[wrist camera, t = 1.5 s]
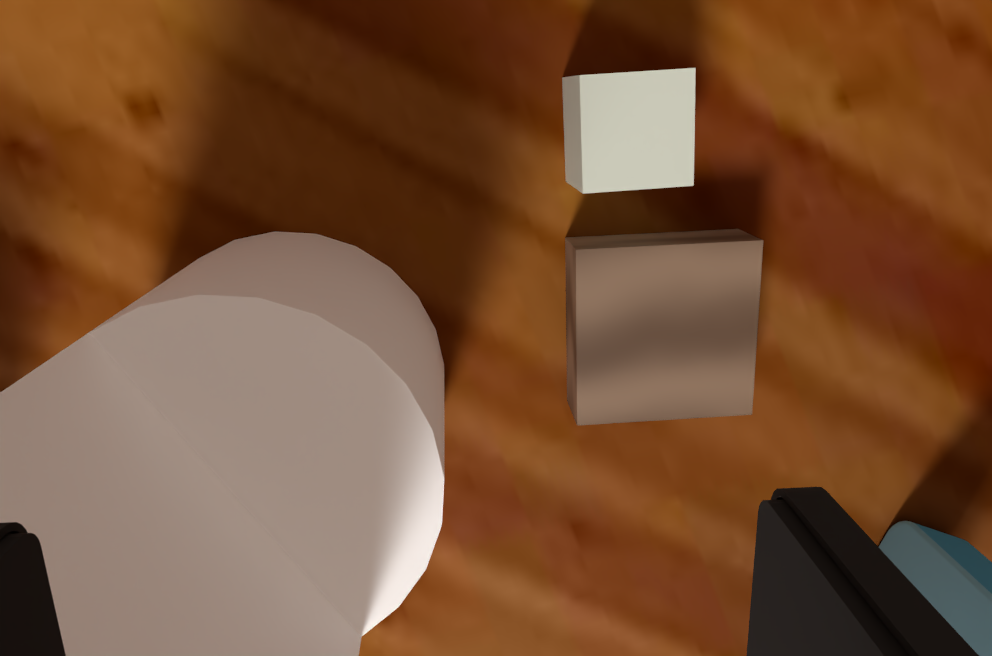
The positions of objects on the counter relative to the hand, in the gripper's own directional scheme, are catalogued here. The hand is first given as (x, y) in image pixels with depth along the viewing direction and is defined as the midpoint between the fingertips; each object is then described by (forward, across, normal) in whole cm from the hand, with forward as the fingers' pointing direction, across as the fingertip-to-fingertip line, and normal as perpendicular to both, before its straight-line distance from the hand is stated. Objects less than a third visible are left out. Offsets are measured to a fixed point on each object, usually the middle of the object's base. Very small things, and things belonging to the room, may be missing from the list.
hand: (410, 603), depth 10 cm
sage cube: (+34, -9, -5) cm, 36 cm away
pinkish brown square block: (+35, -11, +6) cm, 37 cm away
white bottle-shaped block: (+34, +10, +9) cm, 37 cm away
